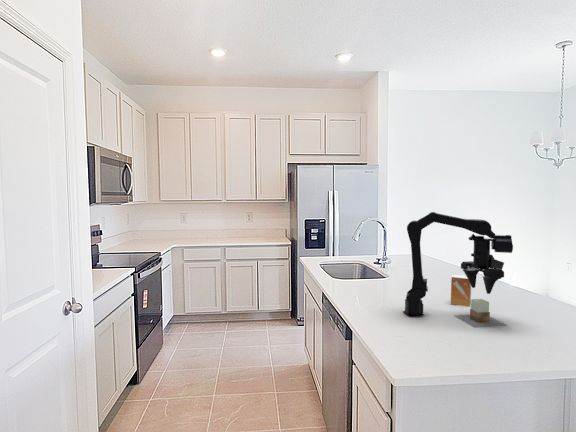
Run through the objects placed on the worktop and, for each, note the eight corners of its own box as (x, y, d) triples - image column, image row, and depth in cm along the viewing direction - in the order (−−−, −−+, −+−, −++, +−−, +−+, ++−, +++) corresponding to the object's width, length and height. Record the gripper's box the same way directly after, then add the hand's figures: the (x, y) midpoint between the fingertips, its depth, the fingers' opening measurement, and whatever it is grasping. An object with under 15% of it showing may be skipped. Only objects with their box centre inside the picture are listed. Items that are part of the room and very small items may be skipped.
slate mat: (474, 328, 140) (474, 327, 140) (453, 316, 154) (453, 315, 154) (508, 326, 142) (508, 325, 142) (484, 314, 156) (484, 313, 156)
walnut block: (477, 322, 145) (478, 312, 145) (469, 318, 150) (470, 308, 150) (489, 322, 146) (489, 312, 145) (481, 317, 150) (481, 308, 150)
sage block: (478, 312, 145) (478, 302, 145) (471, 309, 149) (471, 299, 149) (488, 312, 146) (489, 302, 145) (481, 308, 150) (481, 298, 150)
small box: (450, 304, 170) (451, 276, 169) (452, 301, 175) (452, 274, 174) (470, 307, 166) (470, 278, 165) (471, 303, 171) (471, 275, 170)
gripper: (517, 254, 138) (516, 296, 139) (484, 247, 156) (484, 284, 157) (490, 255, 136) (489, 297, 137) (460, 248, 155) (459, 285, 156)
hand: (480, 290), depth 147 cm, fingers open, 9 cm apart
